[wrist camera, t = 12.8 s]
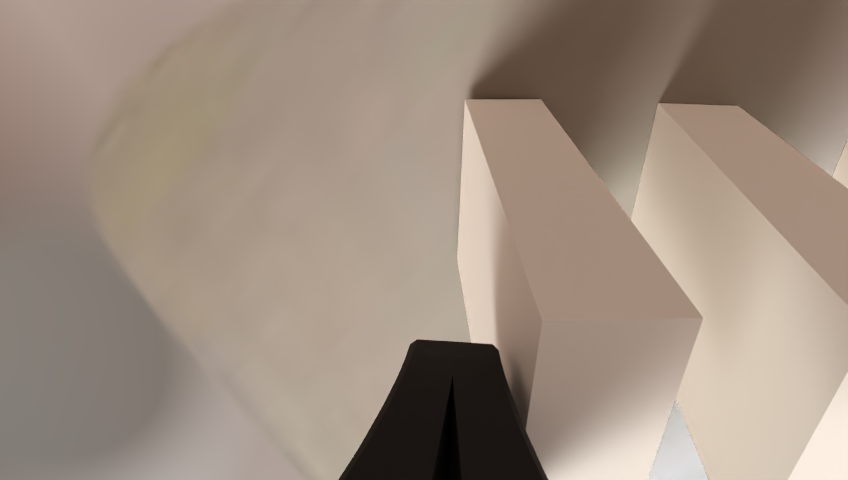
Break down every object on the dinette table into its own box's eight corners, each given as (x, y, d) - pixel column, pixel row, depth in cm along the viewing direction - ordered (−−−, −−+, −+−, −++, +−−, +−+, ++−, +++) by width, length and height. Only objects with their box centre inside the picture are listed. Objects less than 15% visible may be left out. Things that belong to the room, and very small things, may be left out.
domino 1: (541, 98, 14) (704, 318, 7) (521, 258, 17) (624, 548, 9) (464, 99, 14) (542, 321, 7) (457, 259, 17) (507, 553, 9)
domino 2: (737, 105, 14) (1049, 340, 6) (687, 267, 17) (868, 572, 9) (657, 103, 14) (871, 330, 7) (620, 264, 17) (742, 562, 9)
